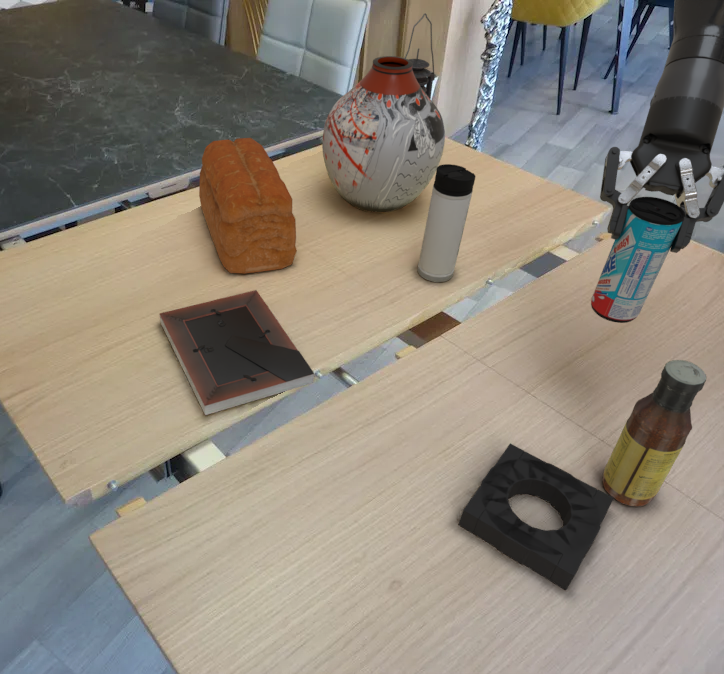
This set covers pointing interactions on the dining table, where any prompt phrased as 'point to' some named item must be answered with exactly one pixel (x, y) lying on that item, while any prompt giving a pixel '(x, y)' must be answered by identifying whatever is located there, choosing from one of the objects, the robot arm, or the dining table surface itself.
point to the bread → (246, 207)
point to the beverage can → (636, 258)
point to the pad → (523, 542)
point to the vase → (383, 138)
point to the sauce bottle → (653, 435)
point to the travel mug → (445, 222)
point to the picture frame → (234, 351)
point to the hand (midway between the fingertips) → (645, 243)
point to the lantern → (423, 66)
